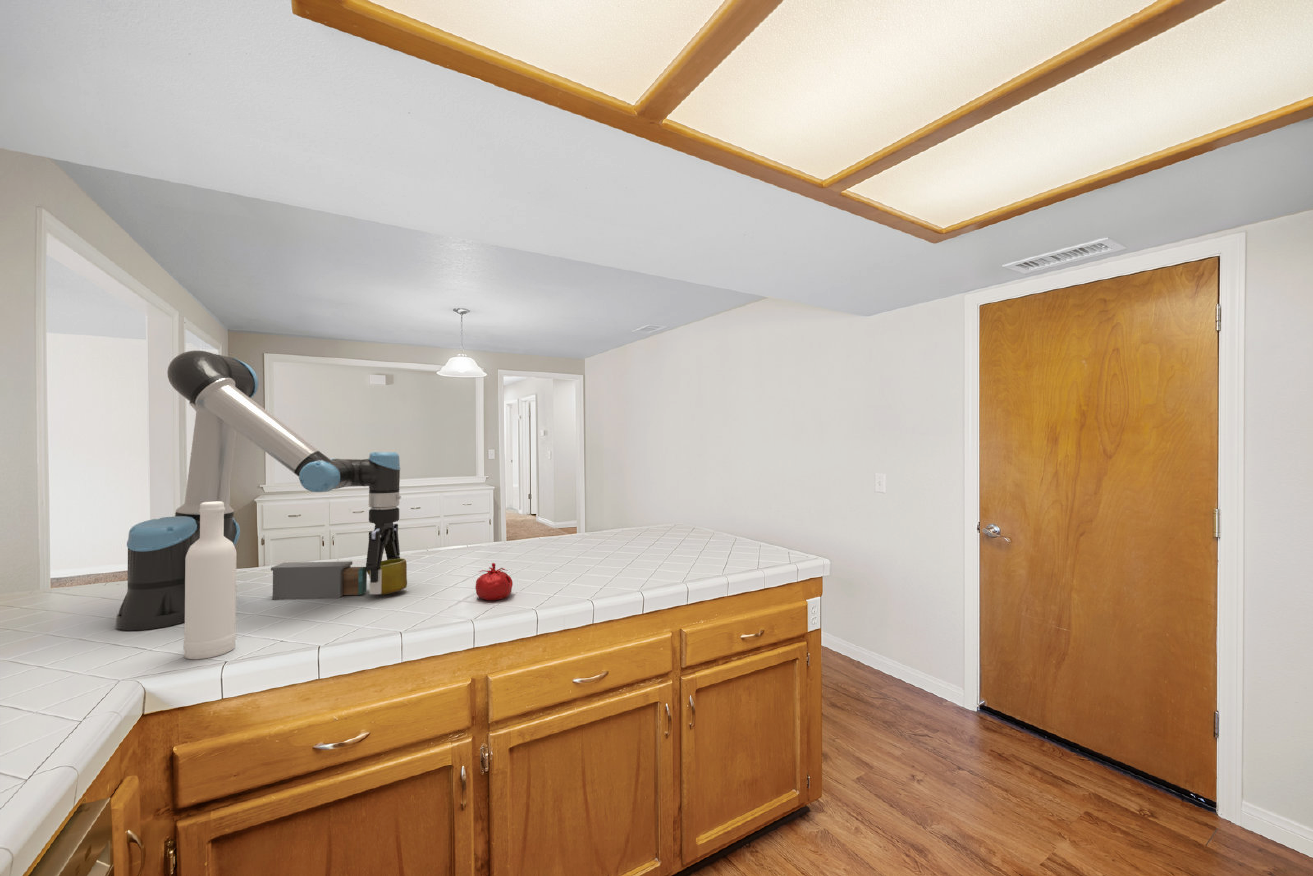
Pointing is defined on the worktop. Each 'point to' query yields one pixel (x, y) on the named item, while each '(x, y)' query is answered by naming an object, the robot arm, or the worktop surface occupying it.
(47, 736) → the worktop surface
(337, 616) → the worktop surface
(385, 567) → the mug
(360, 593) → the gate
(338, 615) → the worktop surface
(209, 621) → the bottle
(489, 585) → the pomegranate
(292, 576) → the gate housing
